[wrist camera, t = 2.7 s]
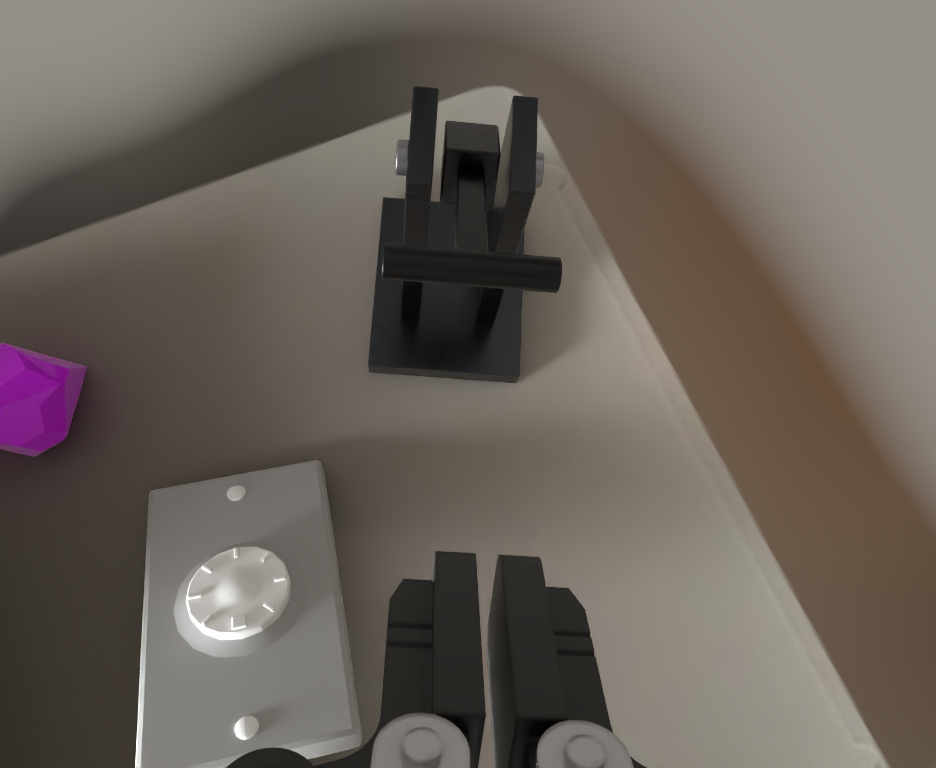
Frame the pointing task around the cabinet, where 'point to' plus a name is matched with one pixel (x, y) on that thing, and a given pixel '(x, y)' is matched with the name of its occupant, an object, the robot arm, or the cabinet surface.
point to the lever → (470, 225)
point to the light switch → (243, 623)
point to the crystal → (36, 399)
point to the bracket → (433, 225)
